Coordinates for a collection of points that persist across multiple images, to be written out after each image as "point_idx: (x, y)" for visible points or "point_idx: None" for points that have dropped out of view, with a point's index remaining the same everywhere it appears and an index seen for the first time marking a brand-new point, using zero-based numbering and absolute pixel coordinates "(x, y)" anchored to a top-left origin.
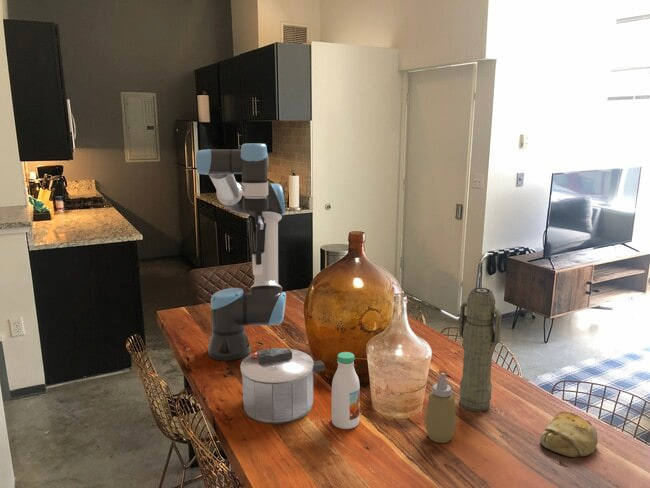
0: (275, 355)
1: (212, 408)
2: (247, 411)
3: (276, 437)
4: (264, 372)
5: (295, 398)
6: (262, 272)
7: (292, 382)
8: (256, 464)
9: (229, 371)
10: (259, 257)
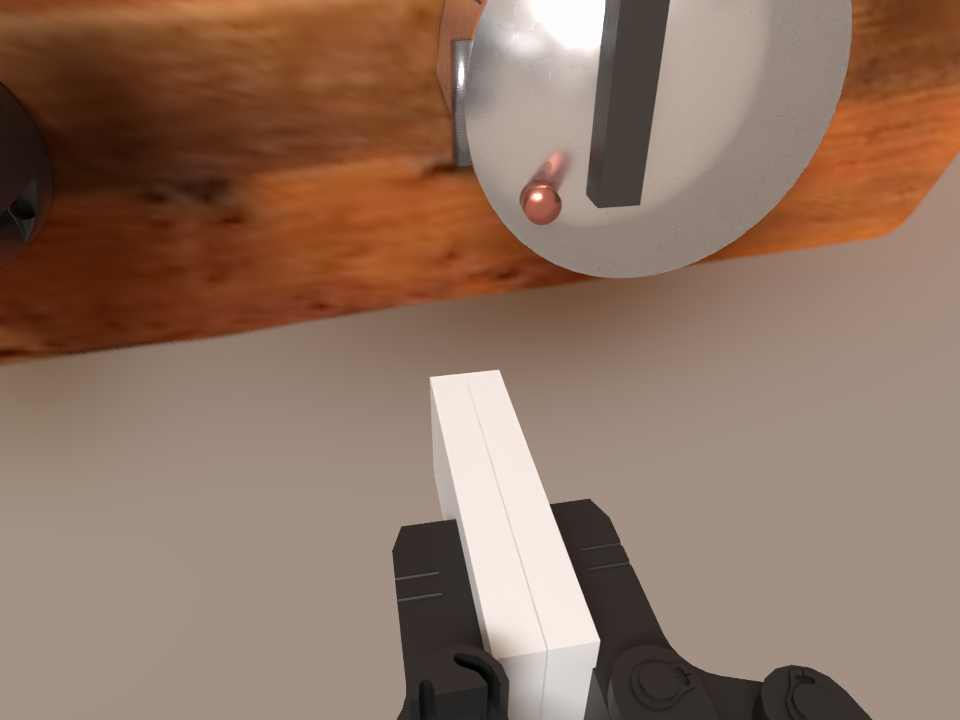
0: (652, 109)
1: (495, 292)
2: None
3: None
4: (719, 187)
5: None
6: (503, 387)
7: None
8: (843, 212)
9: (188, 194)
10: (640, 622)
